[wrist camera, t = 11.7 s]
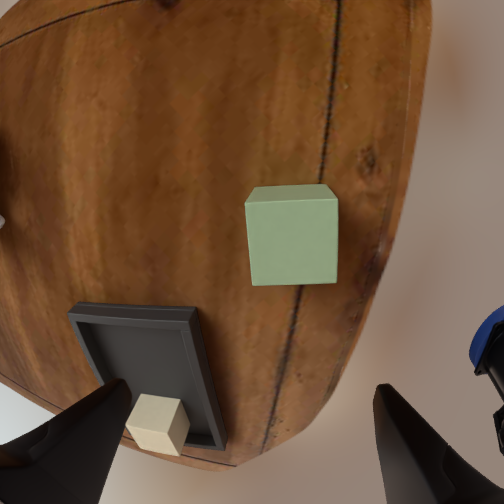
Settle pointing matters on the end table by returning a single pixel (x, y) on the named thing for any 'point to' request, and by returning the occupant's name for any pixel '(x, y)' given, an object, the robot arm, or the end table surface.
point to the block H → (159, 424)
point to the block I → (292, 234)
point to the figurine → (1, 221)
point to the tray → (154, 359)
